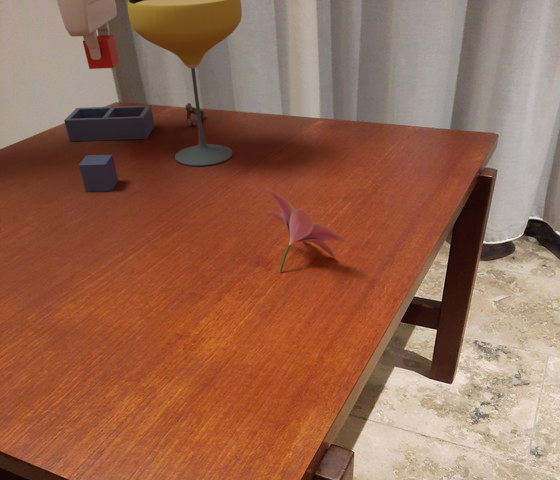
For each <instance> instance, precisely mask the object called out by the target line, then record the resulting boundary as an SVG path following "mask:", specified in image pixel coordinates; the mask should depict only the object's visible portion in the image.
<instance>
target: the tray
mask: <svg viewBox="0 0 560 480" xmlns="http://www.w3.org/2000/svg"><path fill="white" fill-rule="evenodd" d="M63 122H64V125H65V129H66V133H67V136H68V140H69V142H89V141H91V142H93V141H95V142H96V141H121V140H122V141H123V140H147V139H148V138H149V137H150V134H151V132H152V131H153V129H154V128H155V120H154V114H153V108H152V105H149V104H147V105H125V106H124V105H123V106H118V105H117V106H92V107H90V106H89V107H76V108H75V109H74V110H73V111H72V112H71V113H70V114H69V115H68V116H67V117H66V118H65V119H64V120H63Z"/></svg>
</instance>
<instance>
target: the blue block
mask: <svg viewBox="0 0 560 480" xmlns="http://www.w3.org/2000/svg"><path fill="white" fill-rule="evenodd" d="M78 168H79V171H80V176H81V179H82V183H83V186H84V189H85V192H86V193H87V192H88V193H89V192H112V191H113V190H114V189H115V187H116V185H117V184H118V183H119V177H118V173H117V169H116V164H115V159H114V156H113V154H87V155H85V157H84V158H83V159H82V161H81V162H80V163H79V164H78Z"/></svg>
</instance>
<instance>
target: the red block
mask: <svg viewBox="0 0 560 480" xmlns="http://www.w3.org/2000/svg"><path fill="white" fill-rule="evenodd" d="M97 40H98V43H99V47H101V50H102V54H103V56H102V58H101V59H99V60H93V59H92V58H91V55H90V51H89V48H88V46H87V44H86V43H85V41H84V40H82V45H83V49H84V53H85V56H86V57H85V58H86V61H87V65H88V68H89V70H100V69H101V70H102V69H113V68H115V67H116V66H117V65H118V64H119V63H120V59H119V53H118V50H117V45H116V40H115V35H114V34H109V35H102V36H98V35H97Z"/></svg>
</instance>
